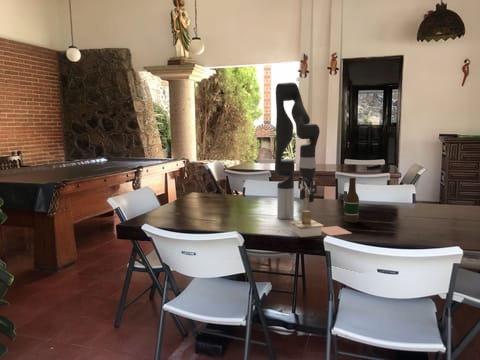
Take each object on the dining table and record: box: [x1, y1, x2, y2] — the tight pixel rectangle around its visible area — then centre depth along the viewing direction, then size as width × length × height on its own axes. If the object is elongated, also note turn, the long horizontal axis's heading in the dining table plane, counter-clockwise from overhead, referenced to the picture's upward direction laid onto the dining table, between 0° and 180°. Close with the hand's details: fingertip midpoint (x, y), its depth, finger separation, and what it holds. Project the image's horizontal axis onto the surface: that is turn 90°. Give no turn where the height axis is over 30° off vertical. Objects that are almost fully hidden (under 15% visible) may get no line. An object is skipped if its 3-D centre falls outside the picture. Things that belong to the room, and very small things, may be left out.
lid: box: [289, 209, 325, 229], centre depth 184 cm, size 12×12×7 cm
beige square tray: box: [291, 224, 322, 238], centre depth 185 cm, size 11×11×4 cm
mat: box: [321, 225, 352, 236], centre depth 189 cm, size 14×12×1 cm
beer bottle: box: [343, 176, 360, 224], centre depth 206 cm, size 8×8×24 cm
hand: (306, 200), depth 183 cm, fingers open, 8 cm apart
